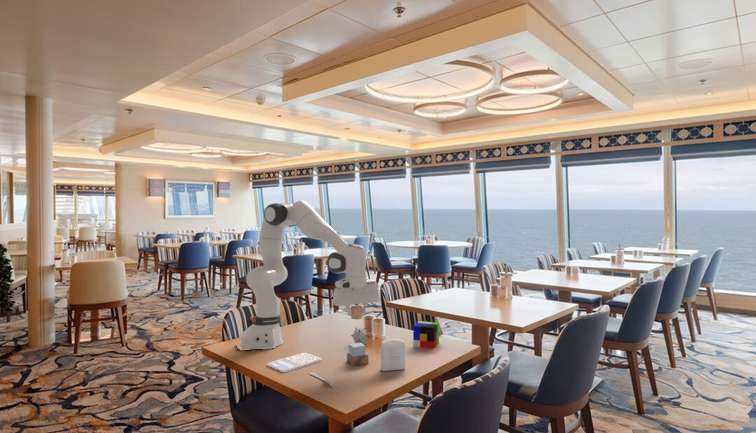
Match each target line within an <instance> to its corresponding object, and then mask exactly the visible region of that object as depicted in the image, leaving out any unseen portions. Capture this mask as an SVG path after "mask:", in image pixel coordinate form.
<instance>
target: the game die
mask: <svg viewBox="0 0 756 433" xmlns="http://www.w3.org/2000/svg"><path fill="white" fill-rule="evenodd" d="M354 328H355V330H354V332H353V334H351V335H350V337H352V338H353V341H354V343H360V342H361V343H362V344H364V345H365V346H366V342H367V339H369V337H370V335H368V334H367V330H366V328H367V327H364V328H357V327H354Z"/></svg>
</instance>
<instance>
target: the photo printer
mask: <svg viewBox="0 0 756 433" xmlns="http://www.w3.org/2000/svg"><path fill="white" fill-rule="evenodd" d="M405 369H406V345H405V340H403V339H401V338H388V339H385V340H383V341H381V342H380V370H381V371H382V372H385V371H386V372H387V371H398V370H399V371H400V370H405Z"/></svg>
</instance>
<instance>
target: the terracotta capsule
mask: <svg viewBox="0 0 756 433" xmlns="http://www.w3.org/2000/svg"><path fill="white" fill-rule="evenodd" d="M362 308H363V305H359V304H353V305H350V310H351V311H352V315H350V317H351V318H350V319H352V320H361V319H362V318H363V314H362Z"/></svg>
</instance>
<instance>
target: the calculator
mask: <svg viewBox="0 0 756 433" xmlns="http://www.w3.org/2000/svg"><path fill="white" fill-rule="evenodd" d="M322 361H323V359H322V358H321V357H319V356H316V355H313V354H310V353H309V352H308V353H307V352H301V353H298V354H294V355H291V356H287V357H283V358H280V359H277V360H276V359H275V360H273V361H270V362H269V361H268V362H267V364H266V366H267V365H268V366H270V367H272V368H271V369H273V368H274V369H273V370H275V369H276V370H275V371H277V370H279V371H281V372H280V373H282V372H286V373H289V372H292V371H291V370H293V371H296V370H298V368H299V369H302V368H305V366H306V367H308V366H312V365H315V364H319V363H321V362H322ZM268 366H267V367H268ZM270 367H269V368H270ZM295 369H296V370H295ZM279 371H278V372H279ZM288 371H289V372H288Z"/></svg>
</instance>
